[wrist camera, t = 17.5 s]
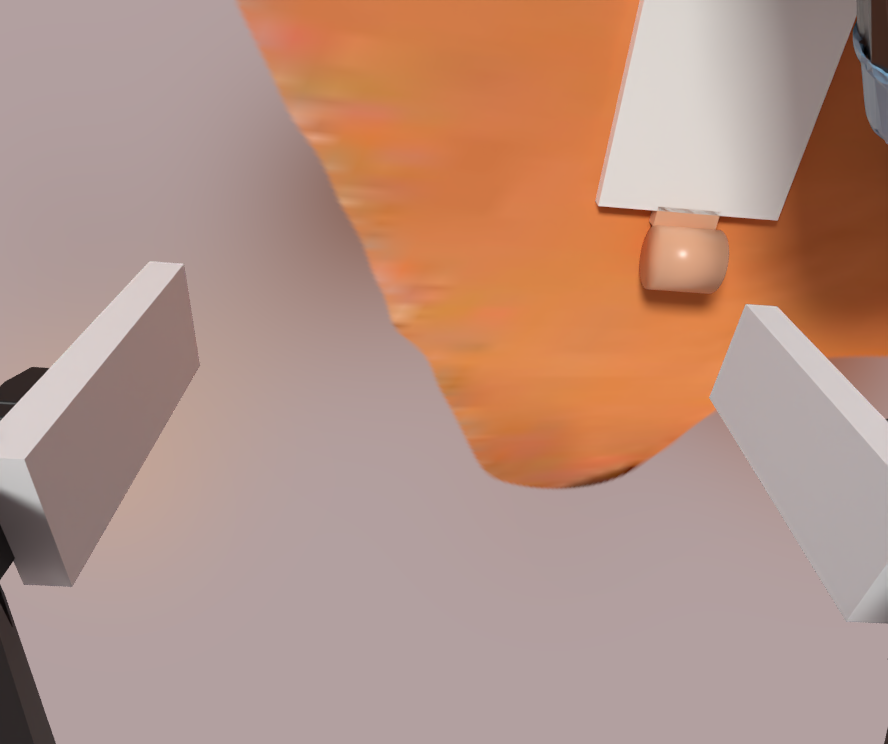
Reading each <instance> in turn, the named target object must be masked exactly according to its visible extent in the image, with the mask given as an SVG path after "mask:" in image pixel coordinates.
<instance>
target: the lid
mask: <svg viewBox="0 0 888 744" xmlns="http://www.w3.org/2000/svg"><path fill="white" fill-rule="evenodd" d="M856 16H857V2H856V0H640V2H639V6H638V11H637V15H636V20H635V24H634V29H633V33H632V38H631V42H630V47H629V51H628V56H627V60H626V65H625V69H624V74H623V78H622V83H621V87H620V92H619V96H618V101H617V106H616V110H615V115H614V119H613V124H612V128H611V133H610V137H609V142H608V146H607V151H606V155H605V160H604V164H603V169H602V173H601V178H600V182H599V187H598V191H597V196H596V200H595V202H596V203H597V205H598V206H603V207H616V208H628V209H641V210H652V212H651V216H650V219H649V222H650V223H651V224H652V227H651V228H650V229H649V231H648V232H647V234H646V237H645V239H644V242H643V245H642V249H641V255H640V264H639V272H640V279H641V283H642V285H643V287H644V288H645V289H650V290H664V291H677V292H691V293H704V294H711V293H713V292H715V291H716V290H717V289H718V288H719V286H720V285H721V283H722V281H723V279H724V277H725V274H726V271H727V267H728V260H729V245H728V240H727V237H726V235H725V233H724V232H723V231H721V230H715V229H716V226H717V223H718V220H719V217H720V216H727V217H740V218H752V219H764V220H777V221H778V218H779V216H780V213H781V210H782V208H783V205H784V203H785V200H786V197H787V195H788V192H789V190H790V187H791V184H792V182H793V179H794V177H795V174H796V171H797V169H798V166H799V164H800V161H801V159H802V156H803V153H804V151H805V148H806V146H807V143H808V140H809V138H810V135H811V133H812V130H813V127H814V125H815V122H816V120H817V117H818V114H819V112H820V109H821V107H822V104H823V102H824V99H825V96H826V94H827V91H828V89H829V86H830V83H831V81H832V78H833V76H834V73H835V70H836V68H837V65H838V63H839V60H840V57H841V55H842V52H843V50H844V47H845V44H846V42H847V39H848V37H849V34H850V32H851V29H852V26H853V24H854V21H855V19H856Z"/></svg>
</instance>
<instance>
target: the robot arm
mask: <svg viewBox="0 0 888 744" xmlns="http://www.w3.org/2000/svg"><path fill="white" fill-rule="evenodd" d="M856 2H857V22H856V24H855V26H854V29H853V46H854V49H855V53H856V56H857V57H858V59H859V61H860V62H861V69H862V81H863V92H864V103H865V111H866V115H867V118H868V121H869V123H870V126H871V128H872V129H873V131H874V132H875V133H876V134H877V135H878V136H880V137H881V138H882V139H884V140H885V142H886V144H888V0H856ZM199 366H200V363H199V357H198V351H197V344H196V337H195V331H194V325H193V319H192V313H191V305H190V299H189V293H188V286H187V280H186V273H185V267H184V264H180V263H165V262H152V261H150V262H149V263H148V264H147V265H146V266H145V267H144V268H143V269H142V270H141V271H140V272H139V273H138V274H137V275H136V276H135V277H134V279H133V280H132V281H131V282H130V283H129V284H128V285H127V286H126V287H125V288H124V289H123V290H122V291H121V293H119V295H118V296H117V297H116V298H115V299H114V300H113V301H112V302H111V303H110V304H109V305H108V306H107V307H106V308H105V310H104V311H103V312H102V313H101V314H100V315H99V316H98V317H97V318H96V319H95V320H94V321H93V322H92V323H91V325H90V326H89V327H88V328H87V329H86V330H85V331H84V332H83V333H82V334H81V335H80V336H79V337H78V338H77V340H76V341H75V342H74V343H73V344H72V345H71V346H70V347H69V348H68V349H67V350H66V351H65V352H64V353H63V354H62V356H61V357H60V358H59V359H58V360H57V361H56V362H55V363H54V364H53V365H52V366H51V367H50V368H39V367H31V368H29V369H27V370H26V371H24V372H22V373H20V374H18V375H16V376H15V377H13V378H11V379H9V380H7V381H6V382H4V383H3V384H2V385H1V386H0V579H1V577H2V576H3V575H4V573H5V572H6V571H7V569H8V568H9V566H10V565H11V563H12V562H13V561H14V563H15V565H16V568H17V570H18V572H19V575H20V577H21V579H22V581H23V584H24V585H45V586H46V585H47V586H68V587H72V586H73V585H74V583H75V581H76V579H77V577H78V576H79V574H80V572H81V571H82V569H83V567H84V565H85V564H86V562H87V560H88V558H89V557H90V555H91V553H92V552H93V550H94V548H95V546H96V545H97V543H98V541H99V539H100V538H101V536H102V534H103V533H104V531H105V529H106V527H107V526H108V524H109V522H110V520H111V518H112V517H113V515H114V513H115V512H116V510H117V508H118V506H119V505H120V503H121V501H122V500H123V498H124V496H125V494H126V493H127V491H128V489H129V487H130V486H131V484H132V482H133V480H134V479H135V477H136V475H137V473H138V472H139V470H140V468H141V467H142V465H143V463H144V461H145V460H146V458H147V456H148V454H149V453H150V451H151V449H152V448H153V446H154V444H155V442H156V441H157V439H158V437H159V435H160V434H161V432H162V430H163V428H164V427H165V425H166V423H167V422H168V420H169V418H170V416H171V415H172V413H173V411H174V409H175V408H176V406H177V404H178V402H179V401H180V399H181V397H182V396H183V394H184V392H185V390H186V388H187V387H188V385H189V383H190V382H191V380H192V378H193V376H194V375H195V373H196V371H197V370H198V368H199ZM709 398H710V400H711V401H712V403H713V405H714V406H715V408H716V409H717V411H718V413H719V414H720V416H721V418H722V419H723V421H724V423H725V424H726V426H727V427H728V429H729V430H730V432H731V434H732V435H733V437H734V439H735V441H736V442H737V444H738V446H739V447H740V449H741V450H742V452H743V454H744V455H745V457H746V459H747V460H748V462H749V463H750V465H751V466H752V468H753V470H754V472H755V473H756V475H757V477H758V478H759V480H760V482H761V483H762V485H763V486H764V488H765V489H766V491H767V493H768V495H769V496H770V498H771V500H772V501H773V503H774V504H775V506H776V507H777V509H778V511H779V513H780V514H781V516H782V518H783V519H784V521H785V522H786V524H787V526H788V527H789V529H790V531H791V532H792V534H793V535H794V537H795V539H796V540H797V542H798V544H799V545H800V547H801V549H802V550H803V552H804V554H805V555H806V557H807V558H808V560H809V562H810V563H811V565H812V567H813V568H814V570H815V572H816V573H817V575H818V576H819V578H820V580H821V581H822V583H823V585H824V586H825V588H826V590H827V591H828V593H829V594H830V596H831V598H832V599H833V601H834V603H835V604H836V606H837V608H838V609H839V611H840V612H841V614H842V616H843V617H844V619H845V621H846V622H848V621H849V622H868V623H888V419H885V418H884V417H883V416H882V415H881V414H880V413H879V412H878V411H877V410H876V409H875V408H874V407H873V406H872V405H871V404H870V403H869V402H868V401H867V400H866V399H865V398H864V396H863V395H861V393H860V392H859V391H858V390H857V389H856V388H855V387H854V386H853V385H852V384H851V383H850V382H849V381H848V380H847V379H846V378H845V377H844V376H843V375H842V374H841V373H840V372H839V370H837V368H836V367H835V366H834V365H833V364H832V363H830V361H829V360H828V359H827V358H826V357H825V356H824V355H823V354H822V353H821V352H820V351H819V350H818V349H817V348H816V347H815V345H814V344H813V343H812V342H811V341H810V340H809V339H808V338H807V337H806V336H805V335H804V334H803V333H802V332H801V331H800V330H799V329H798V328H797V327H796V326H795V325H794V324H793V323H792V322H791V320H790V319H789V318H788V317H787V316H786V315H785V314H784V313H783V312H782V311H781V310H780V309H779V308H778V307H777V306H765V305H751V304H746V305H745V307H744V310H743V313H742V315H741V318H740V320H739V323H738V325H737V328H736V331H735V333H734V336H733V338H732V341H731V343H730V346H729V349H728V351H727V354H726V356H725V359H724V361H723V364H722V367H721V369H720V372H719V374H718V377H717V379H716V382H715V384H714V387H713V390H712V392H711V395H710V397H709ZM0 744H56V743H55V740H54V737H53V734H52V731H51V728H50V725H49V722H48V720H47V717H46V714H45V711H44V708H43V705H42V702H41V699H40V696H39V693H38V690H37V688H36V684H35V682H34V679H33V676H32V673H31V670H30V667H29V664H28V661H27V658H26V655H25V652H24V650H23V646H22V644H21V641H20V638H19V635H18V632H17V629H16V626H15V623H14V620H13V617H12V615H11V611H10V609H9V606H8V603H7V600H6V597H5V594H4V592H3V590H2V588H1V585H0ZM884 744H888V729H887V734H886V738H885V743H884Z"/></svg>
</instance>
